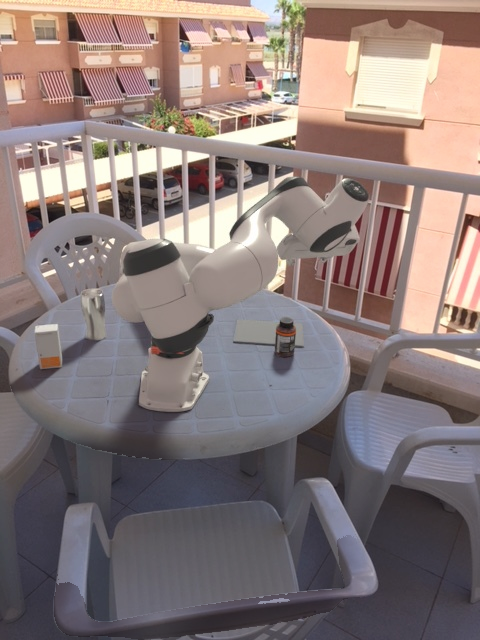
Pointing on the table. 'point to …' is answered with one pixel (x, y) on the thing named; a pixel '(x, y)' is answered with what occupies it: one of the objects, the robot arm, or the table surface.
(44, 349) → the skincare box
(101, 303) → the beer glass
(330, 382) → the table surface
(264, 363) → the table surface
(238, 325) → the rubber mat
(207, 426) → the table surface
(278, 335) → the supplement bottle
